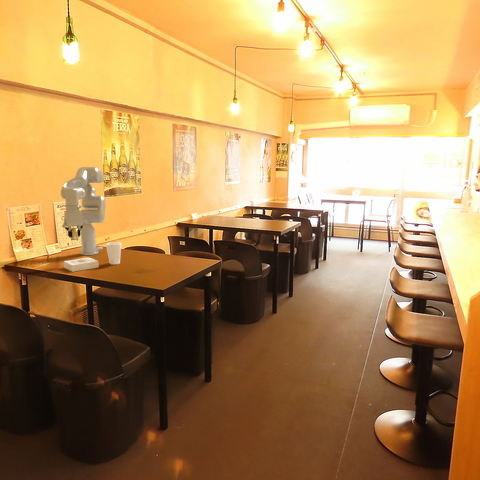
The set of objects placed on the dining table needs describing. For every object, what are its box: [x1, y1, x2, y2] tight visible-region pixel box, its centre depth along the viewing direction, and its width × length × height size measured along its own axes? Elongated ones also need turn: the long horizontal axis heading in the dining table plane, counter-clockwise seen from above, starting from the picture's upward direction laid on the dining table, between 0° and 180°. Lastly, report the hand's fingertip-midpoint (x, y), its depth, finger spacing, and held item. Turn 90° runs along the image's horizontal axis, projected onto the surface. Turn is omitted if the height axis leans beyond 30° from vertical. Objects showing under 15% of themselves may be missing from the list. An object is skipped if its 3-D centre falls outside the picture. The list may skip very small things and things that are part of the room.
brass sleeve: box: [70, 227, 79, 241], centre depth 256 cm, size 4×4×7 cm
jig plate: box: [63, 256, 100, 272], centre depth 251 cm, size 16×14×4 cm
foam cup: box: [105, 241, 123, 265], centre depth 260 cm, size 10×9×13 cm
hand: (74, 236), depth 256 cm, fingers closed on brass sleeve, 4 cm apart
